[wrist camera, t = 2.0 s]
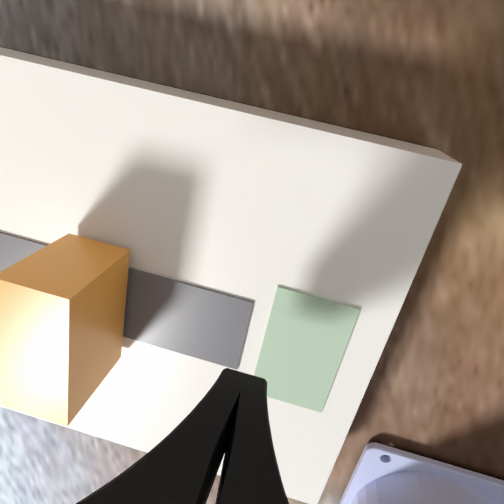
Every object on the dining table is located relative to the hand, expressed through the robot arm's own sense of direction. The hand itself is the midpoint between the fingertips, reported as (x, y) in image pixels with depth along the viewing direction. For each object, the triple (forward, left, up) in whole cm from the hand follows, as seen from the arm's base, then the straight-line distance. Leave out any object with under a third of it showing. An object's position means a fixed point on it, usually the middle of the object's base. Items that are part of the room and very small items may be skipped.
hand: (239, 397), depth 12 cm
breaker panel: (+6, 0, -6) cm, 9 cm away
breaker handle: (+6, 0, -3) cm, 7 cm away
